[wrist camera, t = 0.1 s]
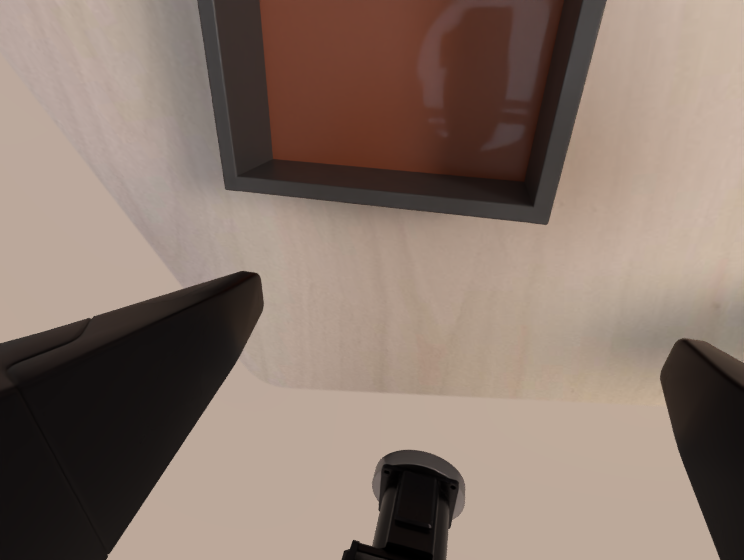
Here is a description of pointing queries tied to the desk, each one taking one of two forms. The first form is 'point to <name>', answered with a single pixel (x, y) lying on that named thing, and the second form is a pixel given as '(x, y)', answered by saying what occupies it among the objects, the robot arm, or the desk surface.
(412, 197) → the toy kitchen
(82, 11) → the desk surface
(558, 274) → the desk surface
